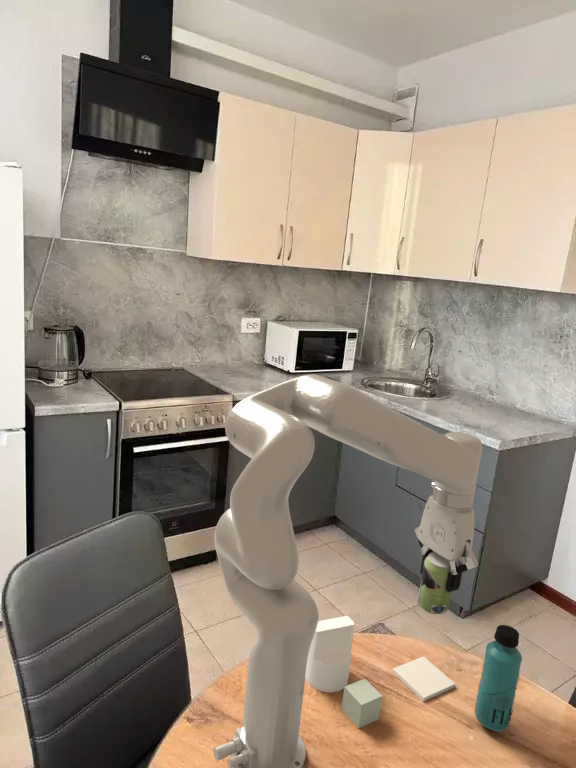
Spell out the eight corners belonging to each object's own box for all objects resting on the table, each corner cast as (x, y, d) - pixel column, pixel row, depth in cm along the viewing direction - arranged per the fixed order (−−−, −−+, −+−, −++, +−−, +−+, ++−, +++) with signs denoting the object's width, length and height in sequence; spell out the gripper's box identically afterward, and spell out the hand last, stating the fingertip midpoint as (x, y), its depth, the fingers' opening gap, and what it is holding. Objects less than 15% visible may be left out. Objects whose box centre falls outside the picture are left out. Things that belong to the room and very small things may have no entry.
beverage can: (444, 602, 116) (452, 548, 114) (452, 622, 108) (461, 566, 106) (413, 598, 116) (421, 544, 114) (419, 618, 109) (428, 562, 107)
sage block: (358, 728, 101) (361, 705, 100) (341, 709, 105) (344, 686, 104) (378, 719, 103) (382, 695, 103) (361, 700, 108) (364, 678, 107)
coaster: (423, 701, 109) (423, 697, 109) (392, 671, 116) (392, 668, 116) (454, 687, 114) (455, 683, 114) (422, 659, 121) (423, 656, 121)
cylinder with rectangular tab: (316, 696, 107) (323, 642, 105) (296, 665, 115) (302, 614, 113) (356, 686, 111) (363, 633, 109) (334, 657, 119) (341, 607, 117)
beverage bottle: (485, 741, 101) (504, 644, 97) (465, 713, 107) (482, 620, 103) (516, 736, 102) (536, 640, 99) (494, 709, 109) (511, 617, 105)
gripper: (407, 482, 112) (395, 564, 116) (475, 518, 98) (459, 609, 102) (433, 478, 116) (421, 557, 120) (503, 512, 102) (486, 600, 106)
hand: (439, 580), depth 111 cm, fingers closed on beverage can, 6 cm apart
